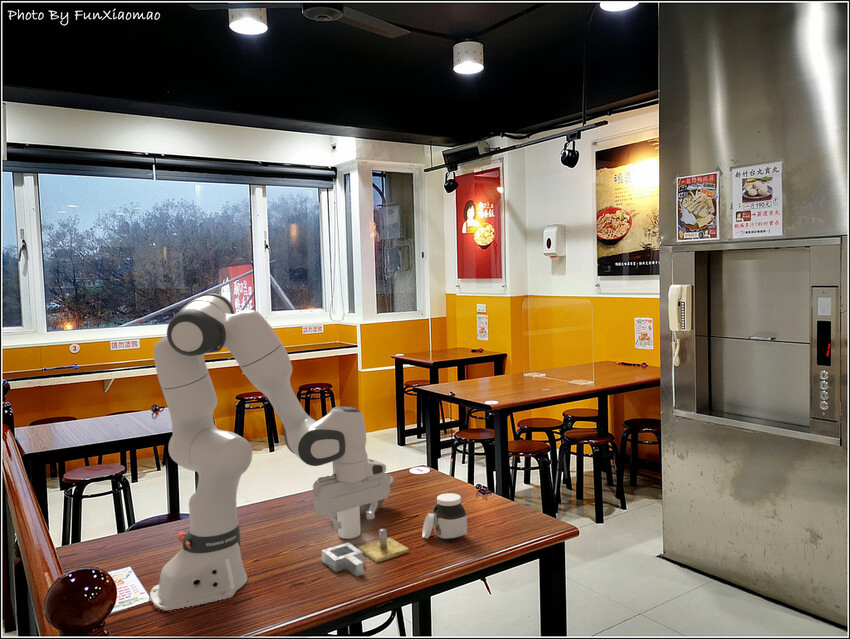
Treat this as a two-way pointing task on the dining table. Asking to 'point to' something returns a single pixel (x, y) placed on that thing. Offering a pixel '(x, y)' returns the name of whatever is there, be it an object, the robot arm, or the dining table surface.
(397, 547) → the post
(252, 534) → the dining table surface
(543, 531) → the dining table surface
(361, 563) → the grey square frame handle
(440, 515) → the spread jar
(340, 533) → the can
